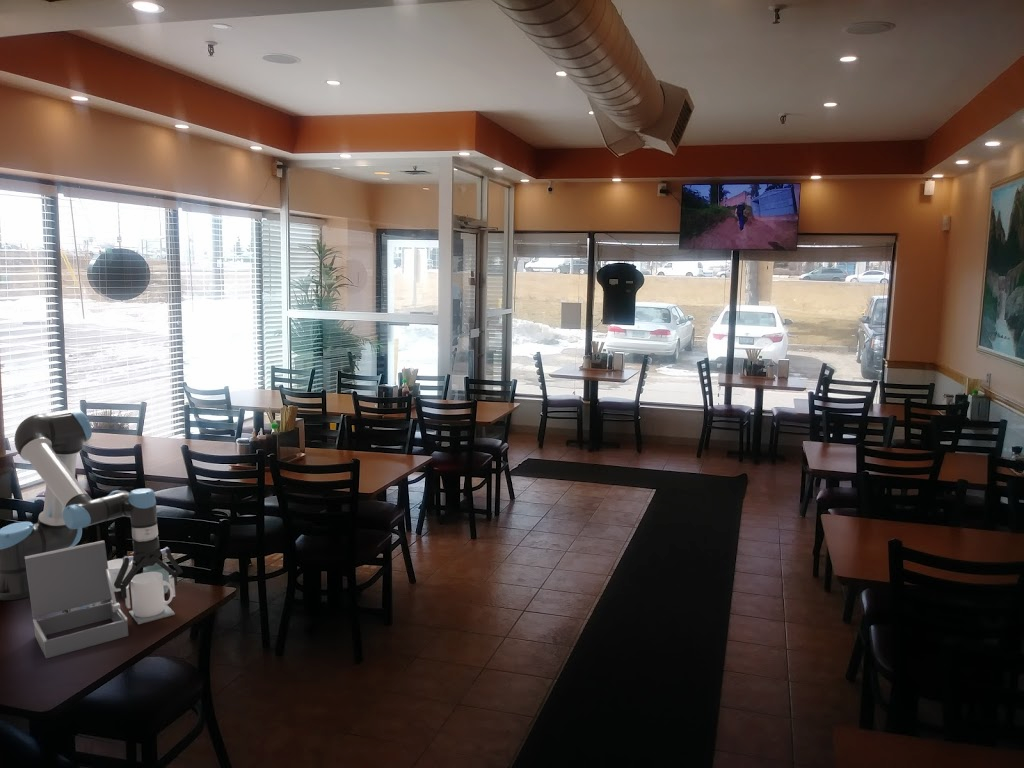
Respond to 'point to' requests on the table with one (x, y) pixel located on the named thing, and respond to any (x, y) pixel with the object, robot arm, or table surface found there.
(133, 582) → the mug
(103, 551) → the lid
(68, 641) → the case
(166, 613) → the pad
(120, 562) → the cup
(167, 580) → the cup
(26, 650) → the table surface
